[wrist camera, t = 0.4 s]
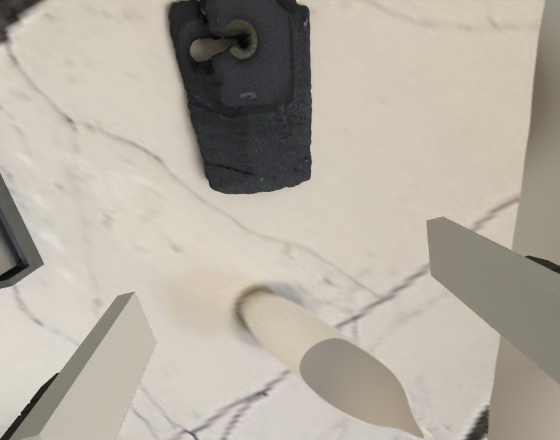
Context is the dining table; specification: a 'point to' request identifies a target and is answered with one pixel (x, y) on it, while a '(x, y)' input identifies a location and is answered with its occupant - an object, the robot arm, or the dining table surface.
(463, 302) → the robot arm
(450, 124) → the dining table surface
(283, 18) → the black pouch
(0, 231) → the rack
